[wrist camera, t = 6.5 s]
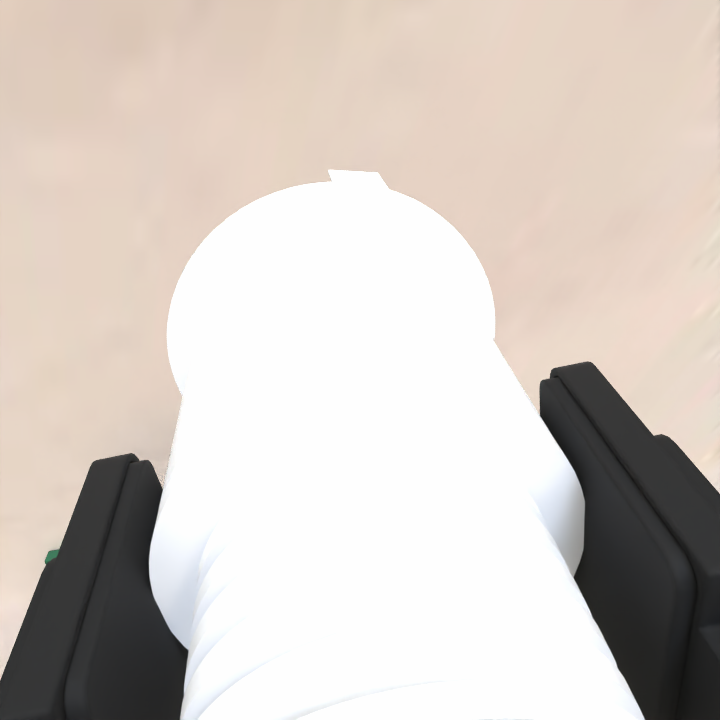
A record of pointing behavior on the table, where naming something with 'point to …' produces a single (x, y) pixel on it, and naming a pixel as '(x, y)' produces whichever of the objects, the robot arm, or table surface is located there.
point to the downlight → (365, 481)
